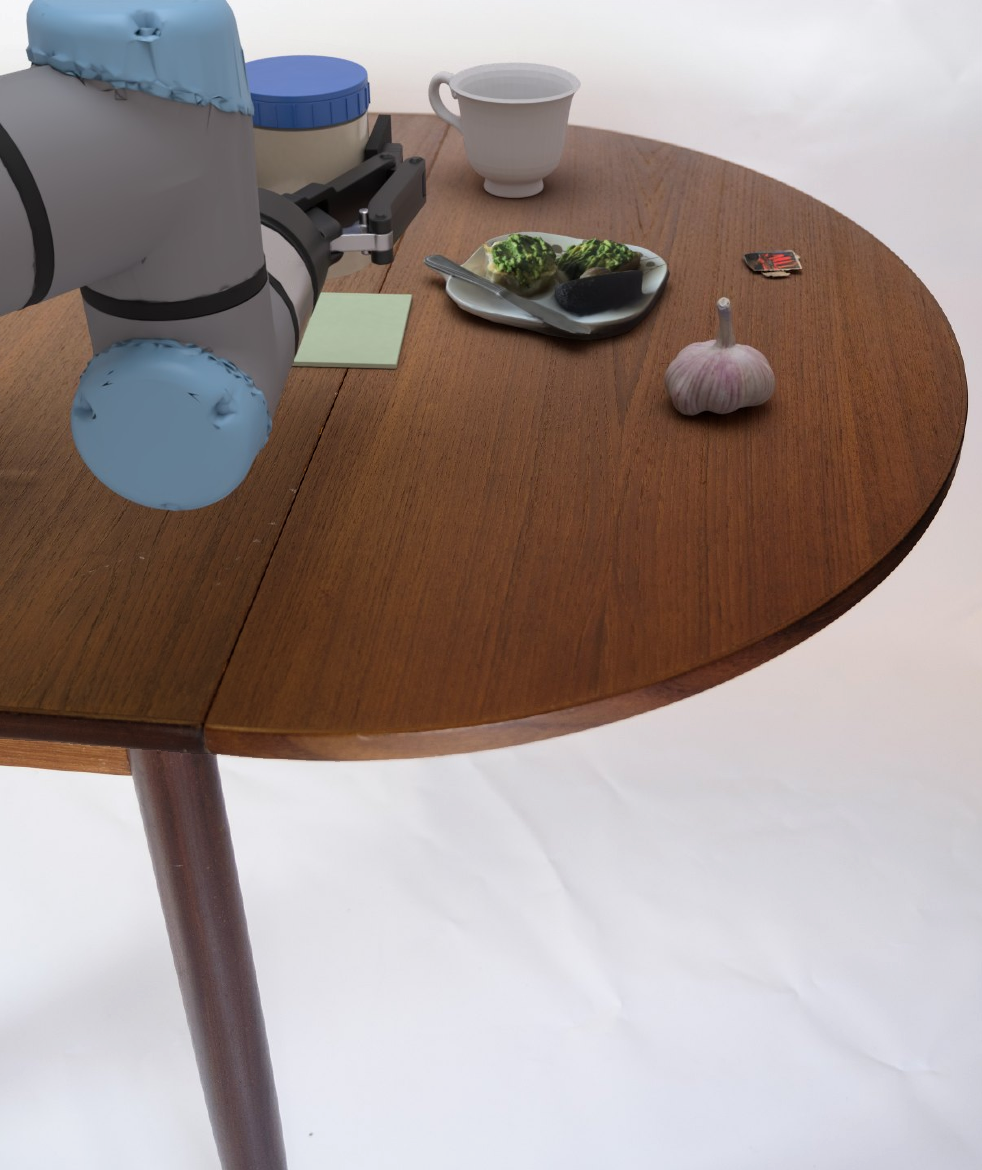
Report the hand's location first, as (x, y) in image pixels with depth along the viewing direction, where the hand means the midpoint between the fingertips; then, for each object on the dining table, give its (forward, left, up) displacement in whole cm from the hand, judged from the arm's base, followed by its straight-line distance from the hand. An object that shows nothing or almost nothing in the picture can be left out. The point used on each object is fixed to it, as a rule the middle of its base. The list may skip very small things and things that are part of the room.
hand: (316, 134), depth 81 cm
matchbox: (+34, +23, -18) cm, 45 cm away
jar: (0, -5, -6) cm, 8 cm away
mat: (-3, +9, -18) cm, 20 cm away
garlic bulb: (+27, -1, -18) cm, 33 cm away
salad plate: (+16, +16, -18) cm, 29 cm away
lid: (0, -5, +5) cm, 7 cm away
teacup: (+10, +41, -18) cm, 46 cm away
